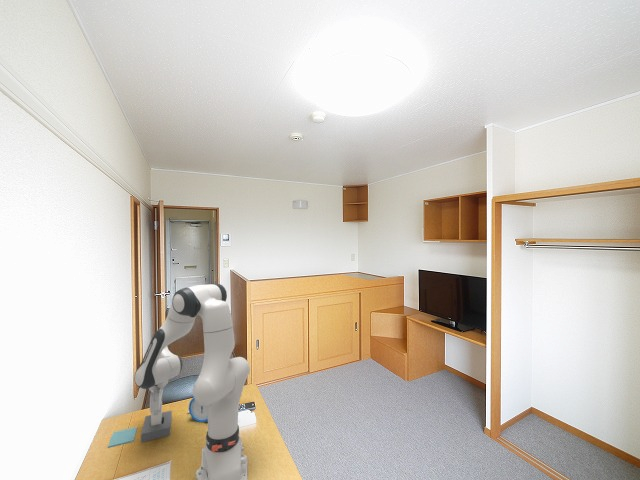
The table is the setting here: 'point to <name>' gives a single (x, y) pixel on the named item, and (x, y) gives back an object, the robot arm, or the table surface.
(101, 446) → the table surface
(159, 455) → the table surface
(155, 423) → the plug
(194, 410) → the alarm clock
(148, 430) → the socket header
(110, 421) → the table surface
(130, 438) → the mat
